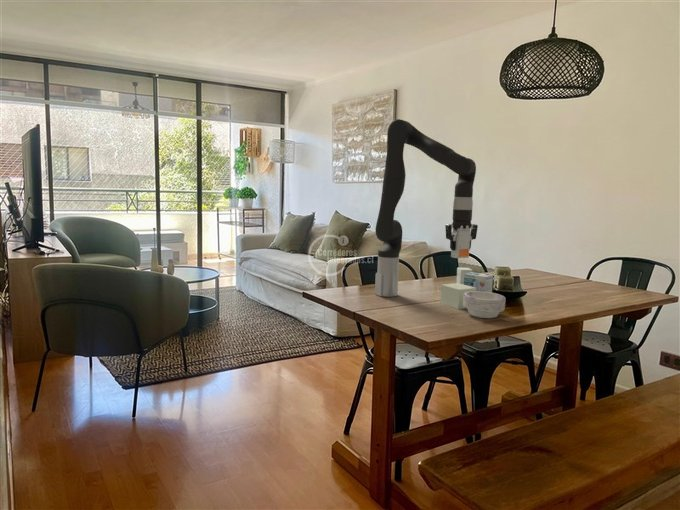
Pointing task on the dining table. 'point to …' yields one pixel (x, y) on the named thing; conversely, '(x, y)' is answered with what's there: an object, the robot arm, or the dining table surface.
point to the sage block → (454, 294)
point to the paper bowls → (484, 304)
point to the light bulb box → (479, 281)
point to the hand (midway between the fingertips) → (460, 249)
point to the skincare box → (461, 243)
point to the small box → (462, 274)
